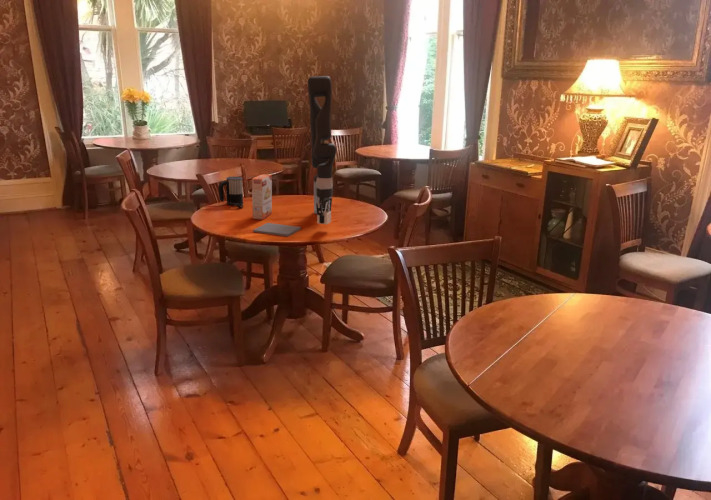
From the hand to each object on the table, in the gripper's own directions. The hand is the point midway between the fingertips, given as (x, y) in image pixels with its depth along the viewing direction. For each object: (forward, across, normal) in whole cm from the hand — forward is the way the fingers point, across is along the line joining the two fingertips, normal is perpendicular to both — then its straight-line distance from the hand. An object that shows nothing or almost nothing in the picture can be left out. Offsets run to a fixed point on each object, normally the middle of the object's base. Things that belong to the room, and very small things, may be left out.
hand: (324, 221), depth 268 cm
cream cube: (0, 0, 0) cm, 0 cm away
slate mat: (+4, +9, -20) cm, 23 cm away
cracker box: (+5, -11, -39) cm, 41 cm away
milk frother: (+6, -25, -64) cm, 69 cm away
